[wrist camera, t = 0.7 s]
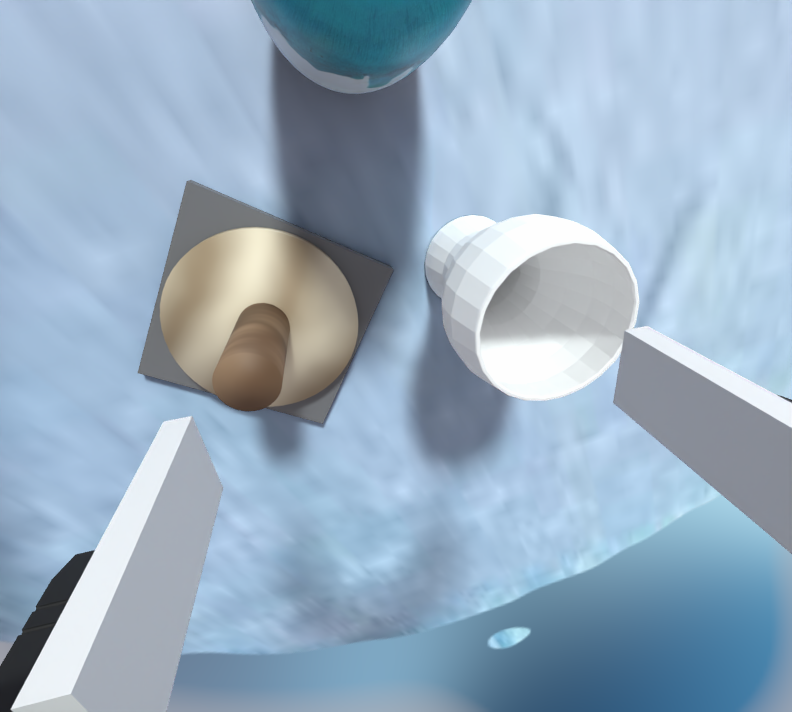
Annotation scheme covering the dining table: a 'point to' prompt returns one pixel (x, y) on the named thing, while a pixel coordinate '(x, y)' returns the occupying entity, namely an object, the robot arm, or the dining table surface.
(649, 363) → the robot arm
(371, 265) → the mat
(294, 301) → the lid
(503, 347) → the cup
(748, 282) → the dining table surface
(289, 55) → the vase
